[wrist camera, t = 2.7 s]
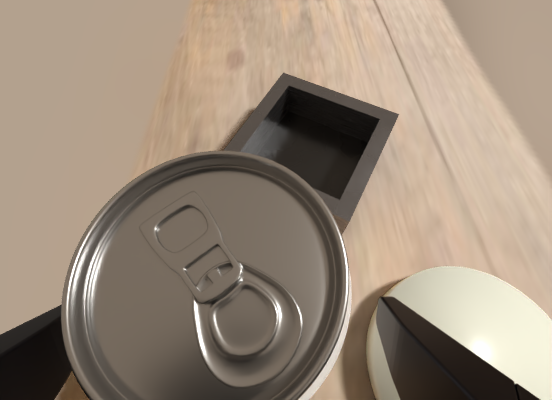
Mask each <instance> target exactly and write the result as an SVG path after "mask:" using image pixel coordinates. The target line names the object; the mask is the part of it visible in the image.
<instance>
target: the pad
mask: <svg viewBox="0 0 552 400" xmlns="http://www.w3.org/2000/svg"><path fill="white" fill-rule="evenodd" d="M384 296H392V297H395V298H396V299H398V300H399V301H400V302H402V303H403V304H405V305H406V306H408V307H409V308H410V309H412V310H413V311H415V312H416V313H418V314H419V315H420V316H422V317H423V318H425V319H426V320H428V321H429V322H430V323H432V324H433V325H435V326H436V327H438V328H439V329H440V330H442V331H443V332H445V333H446V334H448V335H449V336H450V337H452V338H453V339H455V340H456V341H458V342H459V343H460V344H462V345H463V346H465V347H466V348H467V349H469V350H470V351H472V352H473V353H475V354H476V355H477V356H479V357H480V358H482V359H483V360H485V361H486V362H487V363H489V364H490V365H492V366H493V367H495V368H496V369H497V370H499V371H500V372H502V373H503V374H505V375H506V376H507V377H509V378H510V379H512V380H513V381H514V383H515V384H516V383H517V384H519V385H520V386H522V387H523V388H525V389H526V390H528V391H529V392H530V393H532V394H533V395H535V396H536V397H538V398H539V399H541V400H552V320H551V319H550V318H549V317H548V315H547V314H546V313H545V312H544V311H543V310H542V309H541V308H540V307H539V306H538V305H537V304H535V303H534V302H533V301H532V300H531V299H530V298H528V297H527V296H526V295H525V294H523V293H522V292H521V291H519V290H518V289H516V288H515V287H513V286H512V285H510V284H509V283H507V282H505V281H503V280H501V279H499V278H497V277H495V276H493V275H490V274H488V273H485V272H482V271H479V270H475V269H472V268H466V267H460V266H442V267H434V268H430V269H426V270H423V271H421V272H418V273H416V274H414V275H411V276H409V277H407V278H405V279H403V280H402V281H400V282H398V283H397V284H395V285H394V286H393V287H392V288H391V289H389V290H388V291H387V293H386V294H385V295H384ZM377 306H378V305H377ZM377 306H376V308H375V310H374V313H373V315H372V317H371V321H370V324H369V328H368V334H367V340H366V358H367V368H368V373H369V378H370V383H371V386H372V389H373V392H374V395H375V398H376V400H400V397H399V395H398V392H397V390H396V387H395V385H394V382H393V379H392V377H391V374H390V370H389V367H388V364H387V360H386V357H385V353H384V350H383V346H382V343H381V339H380V336H379V332H378V329H377V325H376V314H377Z"/></svg>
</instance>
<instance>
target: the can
mask: <svg viewBox="0 0 552 400" xmlns="http://www.w3.org/2000/svg"><path fill="white" fill-rule="evenodd" d="M350 312H351V278H350V272H349V266H348V258H347V253H346V249H345V245H344V241H343V238H342V235H341V232H340V230H339V227H338V225H337V223H336V220H335V219H334V217H333V215H332V213H331V211H330V210H329V208H328V206H327V205H326V204H325V202H324V201H323V199H322V198H321V197H320V196H319V194H318V193H317V192H316V191H315V190H314V189H313V188H312V187H311V186H310V185H309V184H308V183H307V182H306V181H305V180H303V179H302V178H301V177H300V176H298V175H297V174H295V173H294V172H293V171H291V170H289V169H288V168H286V167H284V166H282V165H280V164H278V163H276V162H274V161H272V160H269V159H267V158H264V157H261V156H257V155H253V154H249V153H243V152H236V151H208V152H200V153H194V154H190V155H185V156H182V157H178V158H175V159H172V160H170V161H167V162H165V163H162V164H160V165H158V166H156V167H154V168H152V169H150V170H148V171H146V172H145V173H143V174H141V175H140V176H138V177H137V178H135V179H134V180H132V181H131V182H130V183H128V184H127V185H126V186H125V187H123V188H122V189H121V190H120V191H119V192H118V193H116V194H115V195H114V196H113V197H112V198H111V199H110V200H109V201H108V202H107V203H106V205H105V206H104V207H103V208H102V209H101V210H100V211H99V213H98V214H97V215H96V217H95V218H94V219H93V221H92V222H91V224H90V225H89V226H88V228H87V229H86V231H85V233H84V234H83V236H82V238H81V240H80V242H79V244H78V246H77V248H76V250H75V252H74V255H73V257H72V260H71V263H70V265H69V269H68V272H67V276H66V280H65V284H64V289H63V296H62V306H61V324H62V335H63V341H64V346H65V350H66V354H67V357H68V361H69V363H70V366H71V369H72V371H73V373H74V375H75V377H76V379H77V381H78V383H79V385H80V386H81V388H82V390H83V391H84V393H85V394H86V395H87V397H88V398H89V399H90V400H309V399H310V398H311V397H312V396H313V395H314V393H315V392H316V391H317V390H318V389H319V387H320V386H321V385H322V383H323V382H324V380H325V379H326V377H327V376H328V374H329V373H330V371H331V369H332V367H333V366H334V364H335V362H336V360H337V358H338V355H339V353H340V351H341V348H342V345H343V343H344V340H345V336H346V333H347V329H348V324H349V319H350Z"/></svg>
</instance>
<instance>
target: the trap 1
mask: <svg viewBox="0 0 552 400" xmlns="http://www.w3.org/2000/svg"><path fill="white" fill-rule="evenodd" d="M398 115H399V114H397V113H394V112H391V111H388V110H385V109H383V108H380V107H377V106H374V105H372V104H369V103H366V102H363V101H360V100H358V99H355V98H352V97H349V96H347V95H344V94H341V93H338V92H335V91H333V90H330V89H327V88H324V87H322V86H319V85H316V84H313V83H310V82H308V81H305V80H302V79H299V78H297V77H294V76H291V75H288V74H285V73H283V74H282V75H281V76H280V78H279V79H278V80H277V82H276V83H275V84H274V86H273V87H272V88H271V89H270V91H269V92H268V93H267V95H266V96H265V97H264V98H263V100H262V101H261V102H260V104H259V105H258V106H257V108H256V109H255V110H254V111H253V113H252V114H251V115H250V117H249V118H248V119H247V121H246V122H245V123H244V124H243V126H242V127H241V128H240V130H239V131H238V132H237V134H236V135H235V136H234V137H233V139H232V140H231V141H230V143H229V144H228V145H227V146H226V148H225V149H224V150H223V151H236V152H243V153H249V154H253V155H257V156H261V157H264V158H267V159H269V160H272V161H274V162H276V163H278V164H280V165H282V166H284V167H286V168H288V169H289V170H291V171H293V172H294V173H295V174H297V175H298V176H300V177H301V178H302V179H303V180H305V181H306V182H307V183H308V184H309V185H310V186H311V187H312V188H313V189H314V190H315V191H316V192H317V193H318V194H319V196H320V197H321V198H322V199H323V201H324V202H325V204H326V205H327V206H328V208H329V210H330V211H331V213H332V215H333V217H334V219H335V220H336V223H337V225H338V227H339V230H340V232H341V235H342V233H343V232H344V230H345V228H346V226H347V225H348V223H349V221H350V219H351V217H352V215H353V213H354V211H355V208H356V206H357V204H358V202H359V200H360V198H361V195H362V193H363V191H364V189H365V187H366V185H367V182H368V180H369V178H370V176H371V174H372V172H373V169H374V167H375V165H376V163H377V161H378V159H379V156H380V154H381V152H382V150H383V148H384V146H385V144H386V141H387V139H388V137H389V135H390V133H391V131H392V128H393V126H394V124H395V122H396V120H397V118H398Z"/></svg>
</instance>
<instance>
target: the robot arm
mask: <svg viewBox="0 0 552 400" xmlns="http://www.w3.org/2000/svg"><path fill="white" fill-rule="evenodd" d="M61 306H62V305H60V306H58V307H56V308H54V309H52V310H50V311H48V312H46V313H44V314H42V315H40V316H38V317H35V318H33V319H32V320H29V321H27V322H25V323H23V324H21V325H19V326H17V327H16V328H13V329H11V330H9V331H7V332H5V333H3V334H1V335H0V400H54V399H55V398H56V396H57V395H58V393H59V391H60V390H61V388H62V387H63V385H64V383H65V382H66V380H67V378H68V377H69V375H70V373H71V371H72V369H71V366H70V363H69V361H68V357H67V354H66V350H65V346H64V341H63V335H62V324H61ZM376 325H377V329H378V332H379V336H380V339H381V343H382V346H383V350H384V353H385V357H386V360H387V364H388V367H389V370H390V374H391V377H392V379H393V382H394V385H395V387H396V390H397V392H398V395H399V397H400V400H541V399H539V398H538V397H536V396H535V395H533V394H532V393H530V392H529V391H528V390H526V389H525V388H523V387H522V386H520V385H519V384H517V383H516V384H515V383H514V381H513V380H512V379H510V378H509V377H507V376H506V375H505V374H503V373H502V372H500V371H499V370H497V369H496V368H495V367H493V366H492V365H490V364H489V363H487V362H486V361H485V360H483V359H482V358H480V357H479V356H477V355H476V354H475V353H473V352H472V351H470V350H469V349H467V348H466V347H465V346H463V345H462V344H460V343H459V342H458V341H456V340H455V339H453V338H452V337H450V336H449V335H448V334H446V333H445V332H443V331H442V330H440V329H439V328H438V327H436V326H435V325H433V324H432V323H430V322H429V321H428V320H426V319H425V318H423V317H422V316H420V315H419V314H418V313H416V312H415V311H413V310H412V309H410V308H409V307H408V306H406V305H405V304H403V303H402V302H400V301H399V300H398V299H396V298H395V297H392V296H381V297H380V298H379V300H378V306H377V314H376Z"/></svg>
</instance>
